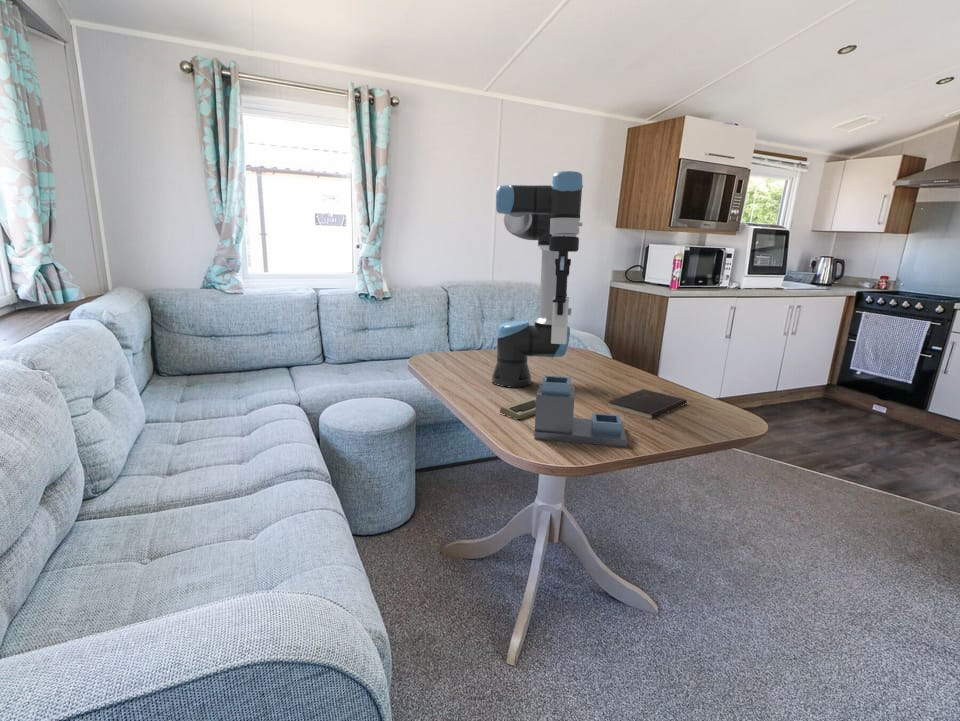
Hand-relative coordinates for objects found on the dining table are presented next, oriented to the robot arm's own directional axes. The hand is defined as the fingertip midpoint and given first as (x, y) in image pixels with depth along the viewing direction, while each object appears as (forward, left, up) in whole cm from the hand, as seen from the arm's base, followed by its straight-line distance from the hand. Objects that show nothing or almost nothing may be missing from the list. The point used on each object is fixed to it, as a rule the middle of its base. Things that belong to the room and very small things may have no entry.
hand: (559, 325), depth 130 cm
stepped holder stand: (+7, 0, -30) cm, 31 cm away
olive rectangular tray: (-10, +15, -31) cm, 36 cm away
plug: (0, 0, -5) cm, 5 cm away
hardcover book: (+29, +31, -31) cm, 52 cm away
